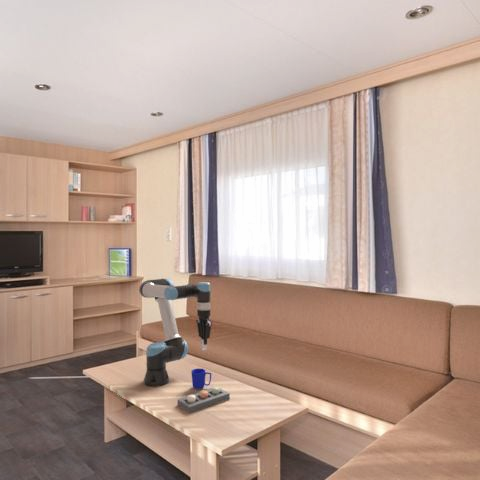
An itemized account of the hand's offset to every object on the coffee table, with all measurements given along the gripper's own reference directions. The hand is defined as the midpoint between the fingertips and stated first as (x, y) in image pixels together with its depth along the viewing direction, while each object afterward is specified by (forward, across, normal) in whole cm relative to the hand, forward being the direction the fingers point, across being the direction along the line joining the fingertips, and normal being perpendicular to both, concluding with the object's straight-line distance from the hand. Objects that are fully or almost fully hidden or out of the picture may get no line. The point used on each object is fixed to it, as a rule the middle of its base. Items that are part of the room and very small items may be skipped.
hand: (204, 349), depth 225 cm
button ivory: (+22, +11, -16) cm, 29 cm away
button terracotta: (+22, +11, -8) cm, 26 cm away
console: (+24, +11, -8) cm, 28 cm away
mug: (+25, -6, +2) cm, 25 cm away
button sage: (+22, +11, 0) cm, 25 cm away
